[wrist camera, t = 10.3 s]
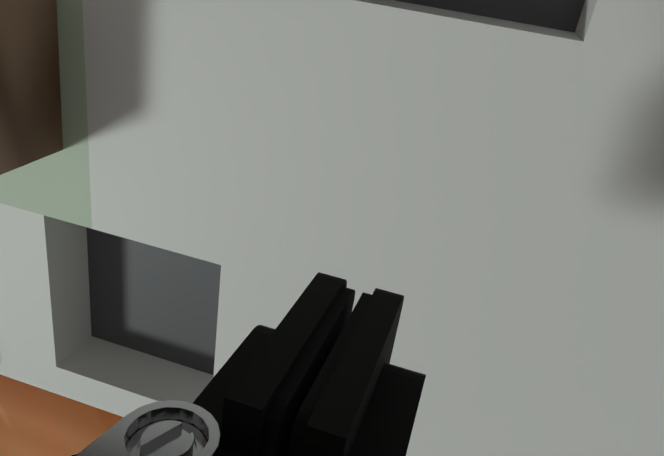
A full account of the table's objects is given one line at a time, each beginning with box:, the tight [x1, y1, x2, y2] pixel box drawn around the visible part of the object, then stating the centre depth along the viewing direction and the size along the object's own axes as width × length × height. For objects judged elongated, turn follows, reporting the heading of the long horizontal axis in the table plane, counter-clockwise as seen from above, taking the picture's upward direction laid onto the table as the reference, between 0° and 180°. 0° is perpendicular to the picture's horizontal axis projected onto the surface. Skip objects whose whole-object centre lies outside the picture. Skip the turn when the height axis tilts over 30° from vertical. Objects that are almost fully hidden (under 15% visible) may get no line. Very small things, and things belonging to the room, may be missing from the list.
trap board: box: [0, 0, 664, 456], centre depth 18 cm, size 26×30×4 cm
